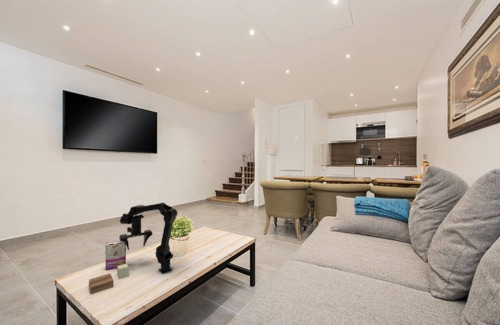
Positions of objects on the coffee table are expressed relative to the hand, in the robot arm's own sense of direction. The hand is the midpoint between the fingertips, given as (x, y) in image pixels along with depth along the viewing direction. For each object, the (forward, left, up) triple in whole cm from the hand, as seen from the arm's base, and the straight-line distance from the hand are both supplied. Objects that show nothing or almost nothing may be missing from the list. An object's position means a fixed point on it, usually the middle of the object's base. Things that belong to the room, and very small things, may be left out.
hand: (136, 248), depth 137 cm
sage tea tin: (-7, +9, -12) cm, 17 cm away
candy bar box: (+9, +10, -13) cm, 18 cm away
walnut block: (-12, +20, -13) cm, 27 cm away
